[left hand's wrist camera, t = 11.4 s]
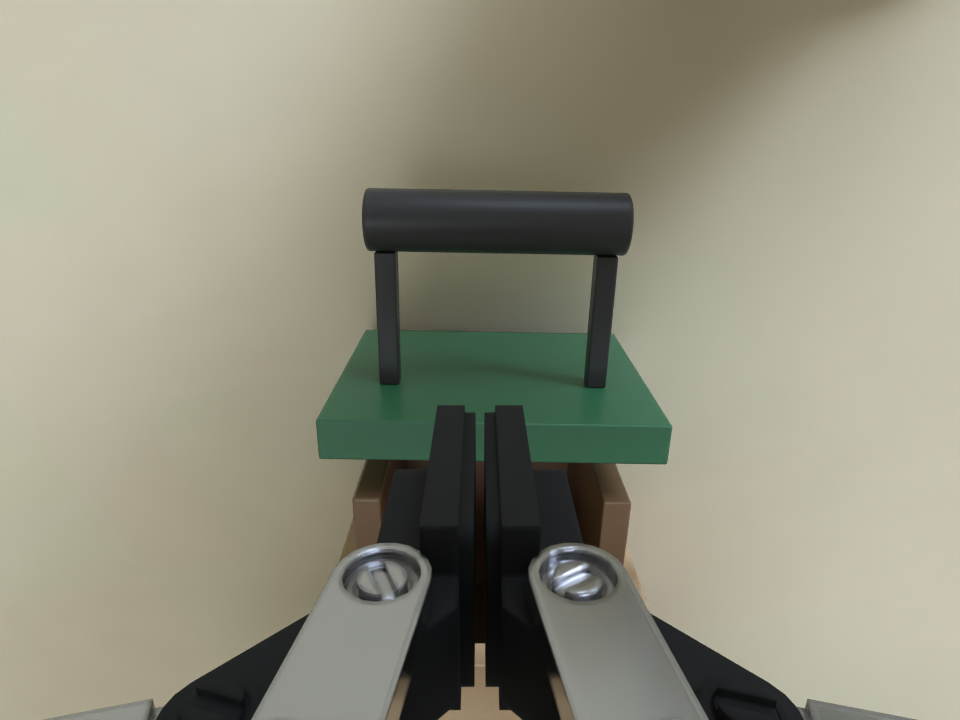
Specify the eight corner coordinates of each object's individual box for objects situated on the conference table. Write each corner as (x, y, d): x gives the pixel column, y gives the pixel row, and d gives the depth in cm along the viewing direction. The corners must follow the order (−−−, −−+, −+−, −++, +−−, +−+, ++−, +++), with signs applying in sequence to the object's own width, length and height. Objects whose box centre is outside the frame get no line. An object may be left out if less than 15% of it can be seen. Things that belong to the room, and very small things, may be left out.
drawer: (357, 173, 22) (297, 198, 15) (629, 178, 22) (704, 206, 15) (377, 578, 28) (341, 738, 21) (589, 581, 28) (628, 742, 21)
